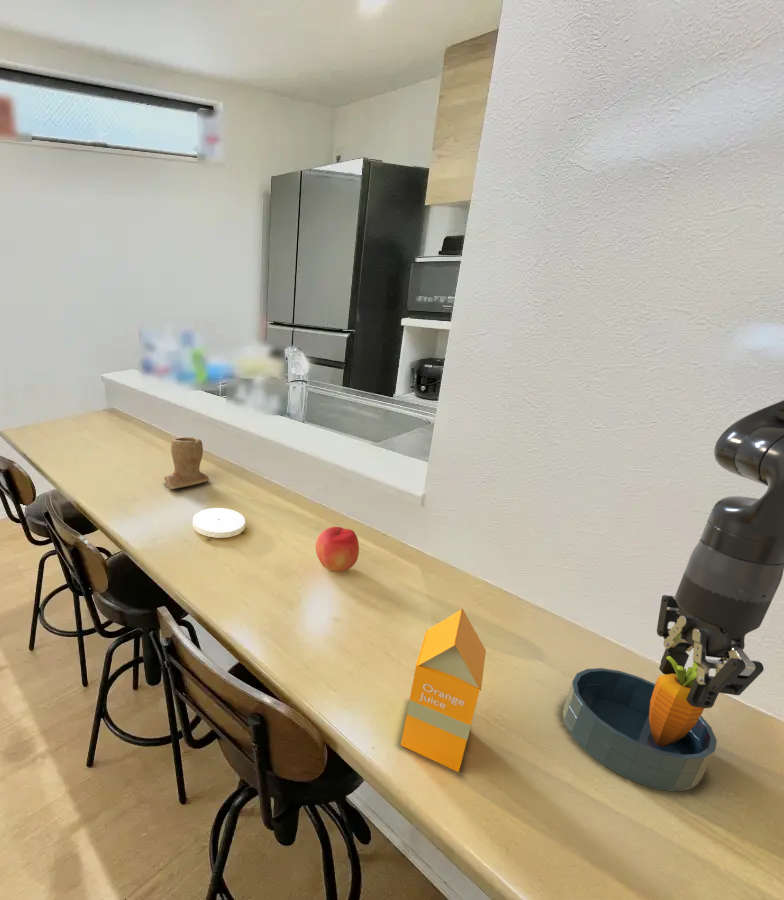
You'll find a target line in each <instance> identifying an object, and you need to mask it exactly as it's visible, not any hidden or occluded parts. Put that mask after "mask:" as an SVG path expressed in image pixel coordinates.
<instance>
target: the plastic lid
mask: <svg viewBox="0 0 784 900" xmlns="http://www.w3.org/2000/svg"><path fill="white" fill-rule="evenodd" d="M192 528H193V530H195V531H196V532H197V533H199V534H201V535H202V536H205V537H210V538H217V539H219V538H220V539H223V538H224V539H225V538H231V537H235V536H238V535H239V534H241V533H243V531H244V530H245V528H246V518H245V517H244V515H243V514H242V513H240V512H238V511H236V510H233V509H231V508H230V509H229V508H225V507H211V508H206V509H202V510H199V511H198V512H196V513H195V514H194V515H193V516H192Z"/></svg>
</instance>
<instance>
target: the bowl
mask: <svg viewBox="0 0 784 900" xmlns="http://www.w3.org/2000/svg"><path fill="white" fill-rule="evenodd" d="M655 684H656V683H654V682H652V681H650V680H647V679H645V678H643V677H641V676H638V675H635V674H632V673H628V672H625V671H621V670H618V669H610V668H605V667H600V668H599V667H598V668H597V667H596V668H586V669H584V670H581V671H579V672H577V673H576V674H575V676H574V678H573V680H571V684H570V687H569V690H568V693H567V696H566V699H565V702H564V705H563V712H562V718H563V722H564V725H565V726H566V730H567V731H568V732H569V734H570V735H571V737H572V738H573V740H574V741H575V742H576V743H577V745H579V746H580V747H581V748H582V749H583V750H584V751H585V752H586V753H587V754H589V755H590V756H591V757H592V758H593V759H594V760H596V761H597V762H599V763H600V764H601V765H603V766H605V768H608V769H609V770H611V771H612V772H614V773H616V774H618V775H619V776H621V777H622V778H625V779H627V780H630V781H632V782H634V783H637V784H640V785H642V786H645V787H648V788H652V789H655V790H659V791H666V792H684V791H689V790H691V789H693V788H694V787H696V786H698V784H699V782H700V781H701V780H702V779H703V777H704V775H705V772H706V770H707V769H708V766H709V764H710V762H711V760H712V758H713V756H714V754H715V753H716V748H717V742H718V740H717V737H716V735H715V733H714V731H713V729H712V726H711V725H710V724H709V723H708V722H707V720H705V718H704V717H703V716H702V715H701V716H700V718H699V719H698V721H697V723H696V724H695V726H694V727H693V728H692V729H691V730H690V731H689V732H688V733H687V734H686V735H685V736H684V737H683V738H682V739H680V740H678V741H676V742H675V743H672V744H669V745H666V746H658V745H657V744H656V743H655V742H654V739H653V737H652V734H651V728H650V722H649V710H650V700H651V697H652V694H653V690H654V687H655Z"/></svg>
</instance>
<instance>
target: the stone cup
mask: <svg viewBox="0 0 784 900" xmlns="http://www.w3.org/2000/svg"><path fill="white" fill-rule="evenodd" d="M170 452H171V458H172V461H173V466H174V471H173V473H171V474H168V475H165V476H163V477H164V478H163V480H164V481H165V484H166V486H167V487H168V489H169V490H174V489H175V490H176V489H179V488H180V489H181V488H186V487H190V486H191V487H192V486H195V485H198V484H202V483H206V482H208V481H210V477H209V476H208V475H207V474H205V473H203V472H201V470H200V466H201V462H202V459H203V455H204V447H203V442H202V440H201V439H200V438H198V437H190V436H189V437H188V436H187V437H185V436H184V437H177V438H173V439H172V441H171V445H170Z"/></svg>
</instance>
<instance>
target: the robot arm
mask: <svg viewBox="0 0 784 900" xmlns="http://www.w3.org/2000/svg"><path fill="white" fill-rule="evenodd" d="M713 457H714V459H715V461H716V462H717V464H718V465H719V466H720V467H721V468H722V469H724V470H726V471H727V472H730V473H731V474H734V475H737V476H739V477H742V478H744V479H748V480H750V481H753V482H756V483H758V484H761V485H764V486H766V487H767V489H766V491H765V493H764V494H763V495H762V496H761V497H760V498H756V497H749V496H740V495H739V496H738V495H735V496H733V495H732V496H726V497H722V498H721V499H719V500H717V501H716V502H715V503H714V505H713V507H712V509H711V511H710V513H709V515H708V518H707V520H706V523H705V524H704V525H705V526H704V528H703V531H702V533H701V536H700V538H699V540H698V543H697V544H696V545H695V546H694V548H693V549H692V552H691V554H690V556H689V559H688V562H687V565H686V567H685V570H684V572H683V574H682V577H681V580H680V582H679V584H678V588H677V590H676V593H675V595H667V594H663V595H662V596H661V601H660V607H659V612H658V620H657V626H656V634H657V635H658V637H662V638H663V639H664V640H663V646H664V648H665V650H664V652H663V654H662V658H661V659H660V664H659V667H658V669H659V671H660V672H661V673H662V675H666V674H676V672H675V670H674V668H673V666H672V664H671V663H670V662H669V661H668V660H667V659H666V658H667V657H668V656H670V657H672V658H673V659H674V660H675V661H676V663H677V664H678V666H683V667H684V668H685V667H686V664H687V662H688V660H689V657H690V654H689V653H688V652H691V651H692V650H693V654H692V655H693V656H692V662H693V663H696V664H697V676H696V679H697V680H696V679H695V680H694V682H693V685H692V687H691V689H690V692H689V694H688V696H687V699H686V700H687V701H688V703H689V704H690V705H691V706H694V707H700V708H704V709H711V708H712V707H714V705H715V702H716V701H717V698H718V696H719V695H720V694H725V695H733V696H741V695H742V693H743V692H744V691H746V689H747V688H748V687H749V686H750V685H751V684H752V683H753V682H754V681H755V680H756V679H757V678H758V677H759V676H760V675H761V674H762V673H763V672H764V670H765V669H764V665H763V663H762V662H761V661H758V660H751V659H750V657H749V656H748V655H747V654H746V652H745V651H744V649H745V646H746V645H745V638H746V635H748V634H749V633H751V632H753V631H755V630H757V629H759V628H760V627H761V625H762V623H763V621H764V619H765V617H766V614H767V613H768V610H769V608H770V606H771V604H772V602H773V599H774V598H775V595H776V593H777V591H778V589H779V587H780V584H781V583H782V579H783V576H784V399H783V400H780V401H778V402H776V403H773V404H770V405H768V406H764V407H763V408H761V409H759V410H756V411H753V412H752V413H750V414H747V415H745V416H744V417H742V418H739V419H738V420H736V421H734V422H733V423H732V424H731V425H730V426H728V427H727V428H726V429H725V430H724V431H723V432H722V433H721V434H720V435H719V437H718V438H717V440H716V442H715V443H714V449H713ZM669 623H674V625H673V626H672V627H670V628H669ZM707 657H709V658H707ZM710 658H717V659H710ZM711 669H713V670H715V675H710V670H711Z"/></svg>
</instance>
